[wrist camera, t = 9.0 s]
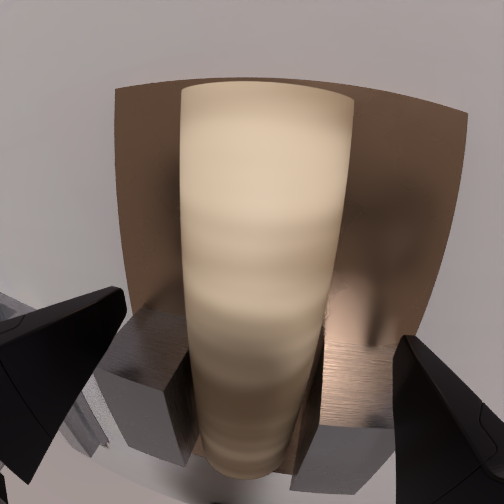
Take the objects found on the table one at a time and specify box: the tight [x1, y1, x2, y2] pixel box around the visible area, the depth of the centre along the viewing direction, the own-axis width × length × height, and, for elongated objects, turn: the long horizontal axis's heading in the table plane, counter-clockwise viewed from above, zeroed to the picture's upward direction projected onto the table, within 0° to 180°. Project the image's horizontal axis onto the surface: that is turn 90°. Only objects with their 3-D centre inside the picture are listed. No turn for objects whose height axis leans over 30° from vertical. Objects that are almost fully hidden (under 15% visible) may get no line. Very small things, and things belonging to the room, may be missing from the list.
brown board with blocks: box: [93, 78, 468, 495], centre depth 11 cm, size 22×12×5 cm, turn 177°
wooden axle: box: [180, 81, 354, 480], centre depth 9 cm, size 14×4×4 cm, turn 177°
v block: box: [0, 293, 108, 458], centre depth 19 cm, size 16×9×3 cm, turn 177°
